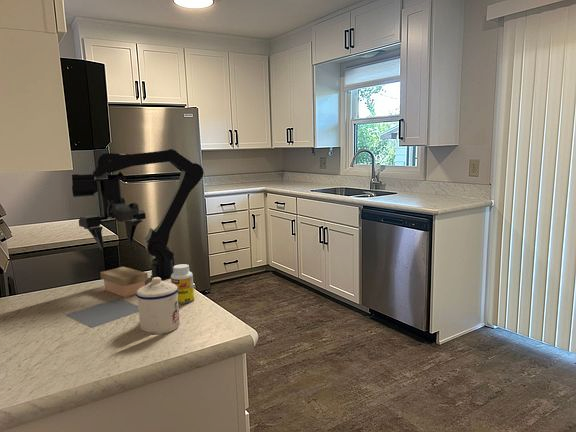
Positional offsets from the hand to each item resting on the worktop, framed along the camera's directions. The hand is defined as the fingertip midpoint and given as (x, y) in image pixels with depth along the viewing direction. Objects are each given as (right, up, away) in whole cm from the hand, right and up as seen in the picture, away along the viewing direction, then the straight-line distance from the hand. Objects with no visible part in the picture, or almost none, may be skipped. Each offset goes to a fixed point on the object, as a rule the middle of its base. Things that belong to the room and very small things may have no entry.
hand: (116, 245), depth 129 cm
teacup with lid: (+23, -16, -32) cm, 43 cm away
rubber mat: (+7, -16, -24) cm, 30 cm away
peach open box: (+6, -13, -7) cm, 16 cm away
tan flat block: (+6, -9, -8) cm, 13 cm away
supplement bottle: (+25, -14, -18) cm, 34 cm away
